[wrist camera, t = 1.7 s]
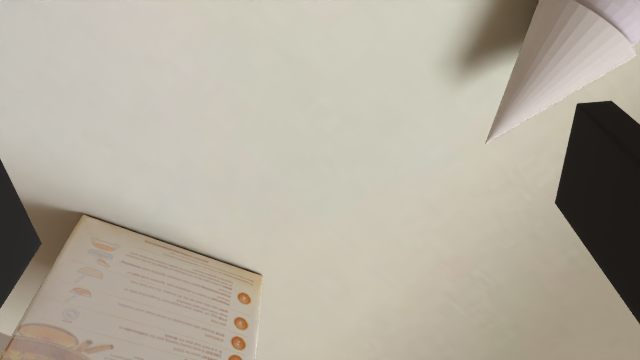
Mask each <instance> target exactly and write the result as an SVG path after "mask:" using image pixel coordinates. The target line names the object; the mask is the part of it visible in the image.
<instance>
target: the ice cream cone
mask: <svg viewBox="0 0 640 360" xmlns="http://www.w3.org/2000/svg"><path fill="white" fill-rule="evenodd" d="M638 42H640V0H539V2H538V5H537V7H536V10H535V13H534V15H533V18H532V21H531V23H530V26H529V29H528V31H527V34H526V37H525V39H524V42H523V45H522V47H521V50H520V52H519V55H518V58H517V60H516V63H515V66H514V68H513V71H512V74H511V76H510V79H509V82H508V84H507V87H506V90H505V92H504V95H503V98H502V100H501V103H500V106H499V108H498V111H497V114H496V116H495V119H494V122H493V124H492V127H491V130H490V132H489V135H488V138H487V140H486V143H485V144H487V143H488V142H490V141H492V140H493V139H495V138H497V137H499V136H500V135H502V134H504V133H505V132H507V131H509V130H511V129H512V128H514V127H516V126H517V125H519V124H521V123H523V122H524V121H526V120H528V119H529V118H531V117H533V116H535V115H536V114H538V113H540V112H541V111H543V110H545V109H547V108H548V107H550V106H552V105H553V104H555V103H557V102H559V101H560V100H562V99H564V98H565V97H567V96H569V95H571V94H572V93H574V92H576V91H577V90H579V89H581V88H583V87H584V86H586V85H588V84H589V83H591V82H593V81H595V80H596V79H598V78H600V77H601V76H603V75H605V74H607V73H608V72H610V71H612V70H613V69H615V68H617V67H619V66H620V65H622V64H624V63H625V62H627V61H629V60H631V59H632V58H634V57H636V55H637V53H636V50H635V48H634V47H633V46H634V45H635V44H637V43H638Z"/></svg>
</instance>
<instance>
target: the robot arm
mask: <svg viewBox="0 0 640 360" xmlns="http://www.w3.org/2000/svg"><path fill="white" fill-rule="evenodd" d="M555 204H556V205H557V207H558V208H559V209H560V211H561V212H562V214H563V215H564V217H565V218H566V219H567V221H568V222H569V224H570V225H571V227H572V228H573V229H574V231H575V232H576V234H577V235H578V237H579V238H580V239H581V241H582V242H583V244H584V245H585V247H586V248H587V249H588V251H589V252H590V254H591V255H592V257H593V258H594V259H595V261H596V262H597V264H598V265H599V267H600V268H601V269H602V271H603V272H604V274H605V275H606V277H607V278H608V279H609V281H610V282H611V284H612V285H613V287H614V288H615V289H616V291H617V292H618V294H619V295H620V297H621V298H622V299H623V301H624V302H625V304H626V305H627V307H628V308H629V309H630V311H631V312H632V314H633V315H634V317H635V318H636V319H637V321H638V322H639V324H640V124H638V123H637V122H636V121H635V120H634V119H632V118H631V117H630V116H629V115H628V114H627V113H625V112H624V111H623V110H622V109H621V108H619V107H618V106H617V105H616V104H615V103H613V102H612V101H603V102H591V103H579V104H577V106H576V111H575V115H574V120H573V124H572V129H571V133H570V138H569V142H568V147H567V151H566V156H565V160H564V165H563V169H562V174H561V178H560V182H559V187H558V191H557V196H556V200H555ZM41 244H42V243H41V241H40V239H39V237H38V235H37V233H36V231H35V229H34V227H33V225H32V223H31V221H30V219H29V217H28V215H27V212H26V210H25V208H24V206H23V204H22V202H21V200H20V198H19V196H18V194H17V192H16V190H15V188H14V186H13V184H12V182H11V180H10V178H9V176H8V174H7V172H6V170H5V168H4V166H3V164H2V162H1V160H0V308H1V307H2V305H3V304H4V302H5V300H6V299H7V297H8V296H9V294H10V293H11V291H12V289H13V288H14V286H15V285H16V283H17V282H18V280H19V278H20V277H21V275H22V274H23V272H24V271H25V269H26V267H27V266H28V264H29V263H30V261H31V260H32V258H33V256H34V255H35V253H36V252H37V250H38V249H39V247H40V245H41Z"/></svg>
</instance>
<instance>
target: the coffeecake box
mask: <svg viewBox="0 0 640 360" xmlns="http://www.w3.org/2000/svg"><path fill="white" fill-rule="evenodd" d="M262 285H263V276H261V275H258V274H255V273H252V272H249V271H246V270H243V269H240V268H237V267H234V266H231V265H228V264H226V263H223V262H220V261H217V260H214V259H211V258H208V257H205V256H202V255H199V254H196V253H194V252H191V251H188V250H185V249H182V248H179V247H176V246H173V245H170V244H167V243H164V242H162V241H159V240H156V239H153V238H150V237H147V236H144V235H141V234H138V233H135V232H132V231H129V230H127V229H124V228H121V227H118V226H115V225H112V224H109V223H106V222H103V221H100V220H98V219H95V218H92V217H89V216H86V215H83V216H82V217H81V219H80V220H79V222H78V223H77V225H76V226H75V228H74V230H73V231H72V233H71V235H70V236H69V238H68V240H67V241H66V243H65V245H64V246H63V248H62V250H61V252H60V254H59V256H58V257H57V259H56V261H55V263H54V265H53V266H52V268H51V270H50V272H49V273H48V275H47V277H46V278H45V280H44V282H43V283H42V285H41V287H40V288H39V290H38V292H37V294H36V295H35V297H34V299H33V300H32V302H31V304H30V305H29V307H28V309H27V310H26V312H25V314H24V316H23V317H22V319H21V321H20V322H19V324H18V326H17V328H16V329H15V331H14V333H13V334H12V336H11V338H10V340H9V341H8V343H7V345H6V347H5V348H4V350H3V352H2V354H1V355H0V360H256V349H257V338H258V328H259V317H260V307H261V296H262Z"/></svg>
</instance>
